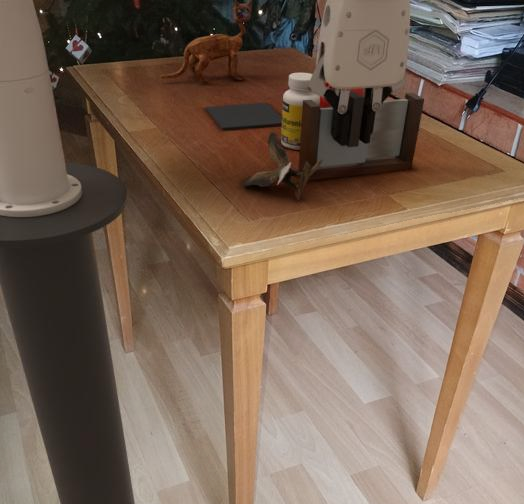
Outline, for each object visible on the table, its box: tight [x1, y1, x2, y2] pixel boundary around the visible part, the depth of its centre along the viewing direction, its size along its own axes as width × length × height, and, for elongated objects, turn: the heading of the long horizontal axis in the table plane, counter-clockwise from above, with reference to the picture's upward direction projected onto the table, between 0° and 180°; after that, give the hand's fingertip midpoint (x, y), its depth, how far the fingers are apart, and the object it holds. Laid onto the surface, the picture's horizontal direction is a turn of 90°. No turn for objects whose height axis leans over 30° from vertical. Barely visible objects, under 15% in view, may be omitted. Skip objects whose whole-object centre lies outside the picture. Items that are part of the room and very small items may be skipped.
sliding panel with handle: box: [315, 91, 367, 167], centre depth 79 cm, size 7×4×10 cm, turn 108°
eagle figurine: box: [243, 131, 323, 201], centre depth 78 cm, size 8×7×9 cm
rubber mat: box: [205, 102, 282, 131], centre depth 103 cm, size 11×11×1 cm
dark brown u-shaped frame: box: [297, 92, 425, 181], centre depth 83 cm, size 16×3×10 cm, turn 108°
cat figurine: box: [160, 0, 253, 83], centre depth 115 cm, size 18×7×14 cm, turn 111°
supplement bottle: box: [280, 72, 320, 151], centre depth 90 cm, size 5×5×10 cm
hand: (350, 140), depth 79 cm, fingers closed
